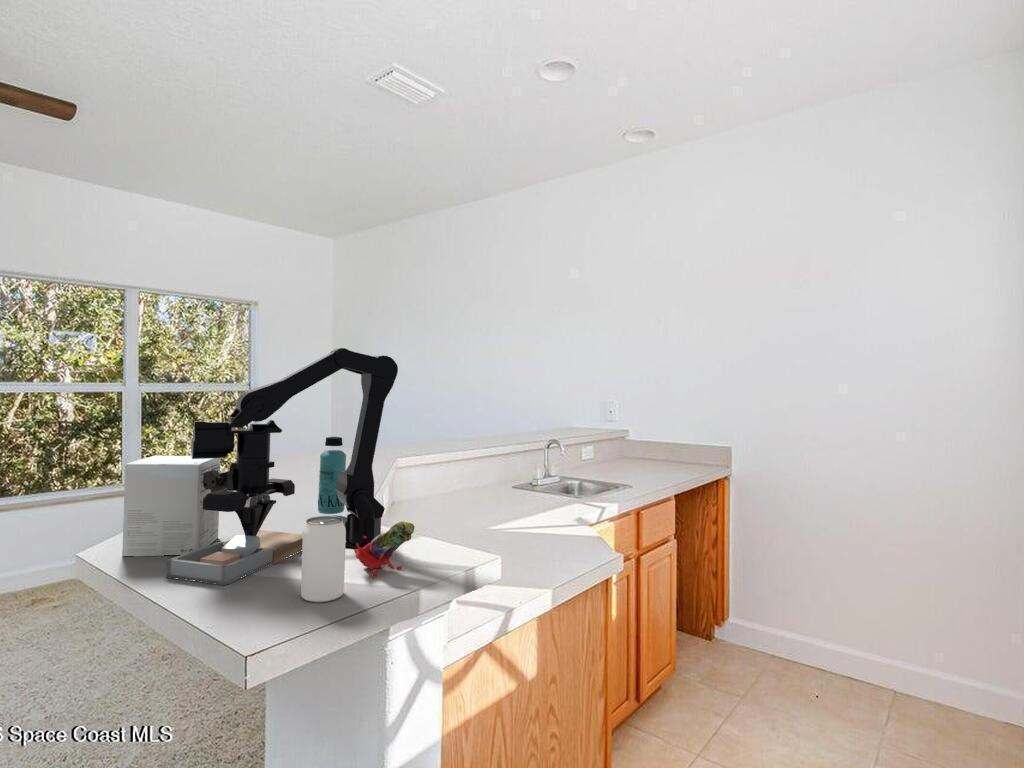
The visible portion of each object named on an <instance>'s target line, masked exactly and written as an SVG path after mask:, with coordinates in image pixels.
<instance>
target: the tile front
mask: <svg viewBox="0 0 1024 768" xmlns="http://www.w3.org/2000/svg"><path fill="white" fill-rule="evenodd" d="M240 555H241V554H239V553H228V552H216V553H213V554H211V555H208V556H206V557H203V558H201V559H200V562H203V563H211V564H219V565H227V564H229V563H232V562H234V561H237V560H239V559H240Z"/></svg>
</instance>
